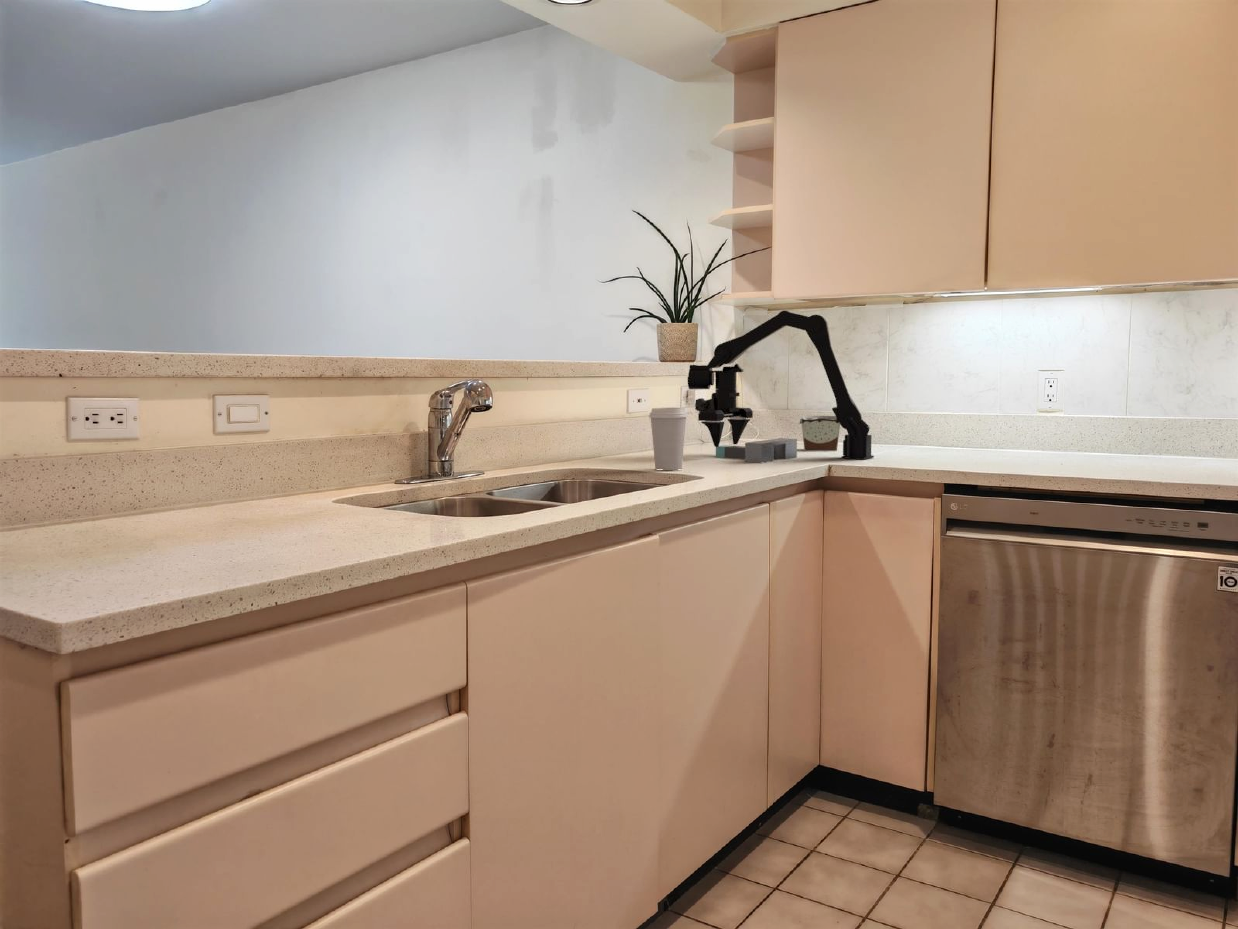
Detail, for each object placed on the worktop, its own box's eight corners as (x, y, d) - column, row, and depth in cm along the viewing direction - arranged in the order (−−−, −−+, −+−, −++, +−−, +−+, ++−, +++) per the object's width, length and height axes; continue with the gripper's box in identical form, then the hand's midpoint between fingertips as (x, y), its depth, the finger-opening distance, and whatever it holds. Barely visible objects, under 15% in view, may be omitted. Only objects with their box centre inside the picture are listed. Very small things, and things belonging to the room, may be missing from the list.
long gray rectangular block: (796, 457, 247) (796, 438, 247) (761, 462, 234) (761, 443, 233) (780, 456, 250) (780, 438, 250) (745, 461, 237) (745, 442, 236)
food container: (839, 449, 269) (839, 415, 268) (842, 450, 263) (842, 416, 262) (797, 449, 271) (797, 415, 270) (799, 451, 264) (799, 416, 263)
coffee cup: (685, 471, 216) (685, 409, 215) (646, 471, 218) (645, 409, 217) (690, 467, 226) (690, 407, 224) (652, 467, 228) (652, 407, 226)
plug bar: (763, 458, 246) (763, 447, 245) (755, 459, 243) (755, 448, 242) (724, 455, 254) (724, 445, 254) (715, 457, 251) (715, 446, 251)
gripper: (720, 388, 262) (721, 441, 263) (682, 389, 248) (682, 446, 249) (753, 388, 254) (753, 443, 256) (715, 390, 240) (715, 448, 242)
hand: (726, 445), depth 251 cm, fingers open, 9 cm apart
